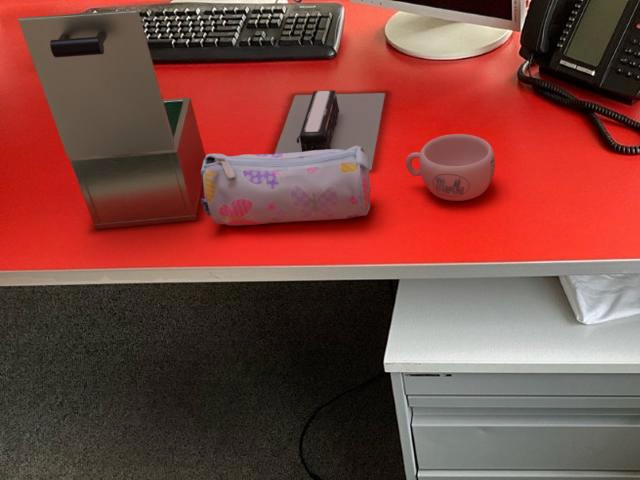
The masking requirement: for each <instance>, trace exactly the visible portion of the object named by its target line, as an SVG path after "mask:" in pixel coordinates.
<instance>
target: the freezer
mask: <svg viewBox="0 0 640 480" xmlns="http://www.w3.org/2000/svg"><path fill="white" fill-rule="evenodd" d="M163 102H164V106H165V110H166V113H167V117H168V120H169V124H170V128H171V131H172V135H173V139H174V142H175V146H176V148H175V150H166V151H155V152H143V153H131V154H119V155H107V156H95V157H83V158H71V159H69V161H70V164H71V167H72V170H73V172H74V174H75V177H76V180H77V184H78V186H79V188H80V191H81V194H82V196H83V199H84V202H85V205H86V207H87V210H88V212H89V215H90V217H91V220H92V223H93V226H94V229H95V230H106V229H116V228H118V229H119V228H127V227H128V228H129V227H139V226H149V225H162V224H172V223H180V222H181V223H182V222H183V223H184V222H193V221H196V220H197V216H198V213H199V208H200V207H199V206H200V203H201V201H200V199H201V196H202V192H203V187H204V184H203V179H202V176H201V169H202V165H203V161H204V159H205V157H206V156H207V155H206V152H205V149H204V148H205V147H204V144H203V141H202V137H201V133H200V129H199V126H198V122H197V119H196V118H197V117H196V114H195V110H194V107H193V102H192V99H191V97H180V98H168V99H163Z"/></svg>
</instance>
